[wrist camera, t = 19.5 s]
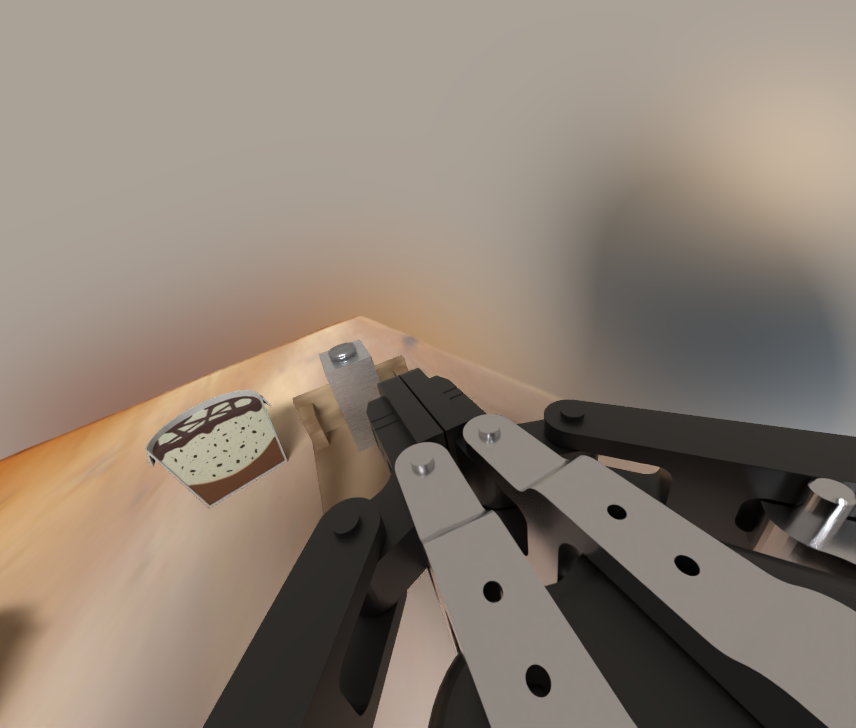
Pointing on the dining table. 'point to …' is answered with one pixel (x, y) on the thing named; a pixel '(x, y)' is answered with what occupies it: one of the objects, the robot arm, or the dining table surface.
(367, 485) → the dock
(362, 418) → the block
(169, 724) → the dining table surface
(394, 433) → the robot arm
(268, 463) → the food container
